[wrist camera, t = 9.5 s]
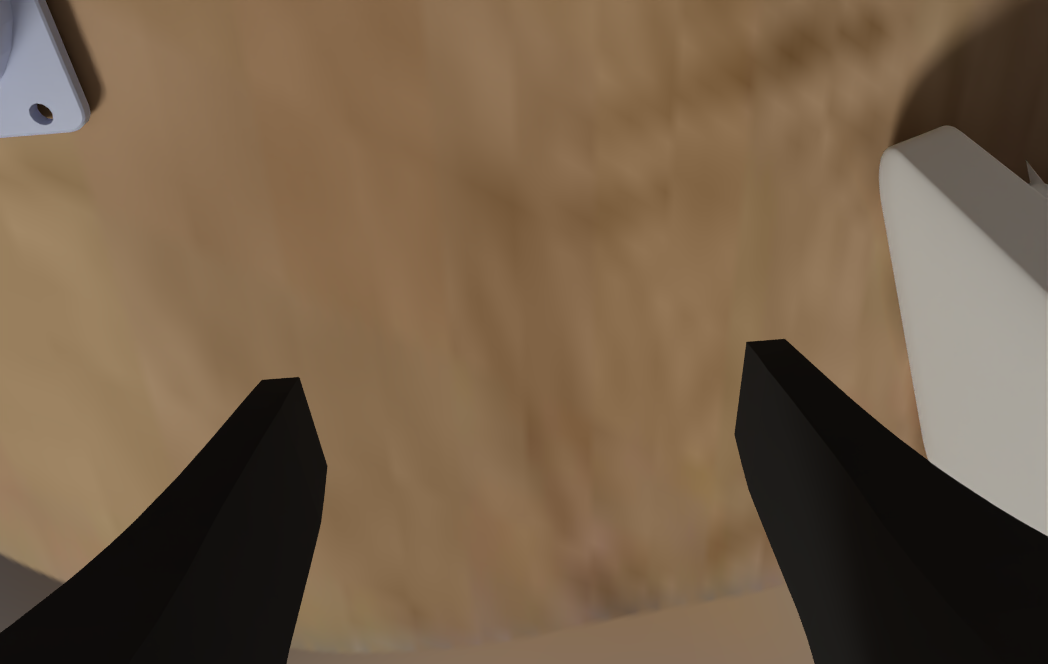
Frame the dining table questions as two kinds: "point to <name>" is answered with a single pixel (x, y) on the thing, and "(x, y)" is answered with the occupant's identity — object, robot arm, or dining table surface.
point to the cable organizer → (974, 313)
